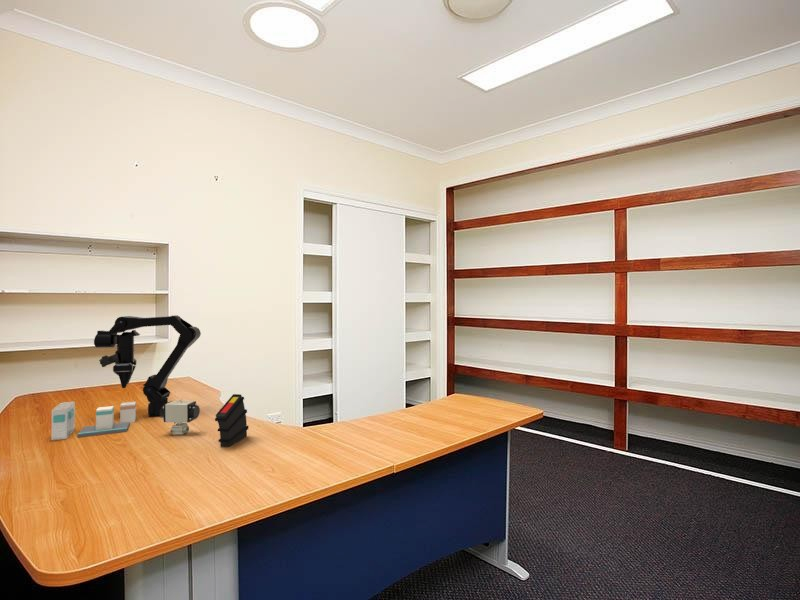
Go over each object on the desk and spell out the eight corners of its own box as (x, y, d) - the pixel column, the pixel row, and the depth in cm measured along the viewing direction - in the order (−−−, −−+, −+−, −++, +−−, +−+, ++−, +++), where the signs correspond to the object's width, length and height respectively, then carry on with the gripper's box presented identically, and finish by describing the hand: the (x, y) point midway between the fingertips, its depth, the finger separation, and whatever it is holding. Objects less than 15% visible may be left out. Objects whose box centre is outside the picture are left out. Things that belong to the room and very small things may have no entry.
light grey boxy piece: (135, 419, 165) (136, 401, 165) (134, 422, 161) (134, 403, 161) (121, 420, 163) (121, 402, 163) (120, 423, 159) (120, 405, 159)
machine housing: (76, 428, 152) (76, 401, 152) (67, 438, 141) (67, 409, 141) (60, 430, 150) (60, 402, 150) (51, 440, 139) (51, 410, 139)
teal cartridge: (113, 425, 154) (113, 405, 154) (111, 428, 149) (112, 408, 149) (98, 426, 151) (98, 407, 151) (95, 430, 147) (95, 410, 147)
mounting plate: (129, 424, 158) (129, 421, 158) (126, 431, 149) (126, 428, 149) (83, 429, 152) (83, 426, 152) (77, 437, 143) (77, 433, 143)
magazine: (253, 428, 147) (243, 393, 141) (233, 457, 136) (221, 420, 129) (243, 428, 148) (232, 393, 142) (222, 456, 136) (210, 420, 130)
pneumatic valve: (193, 436, 144) (193, 401, 144) (159, 435, 145) (159, 400, 145) (201, 431, 150) (201, 397, 150) (168, 431, 150) (168, 397, 150)
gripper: (105, 346, 175) (104, 383, 175) (97, 350, 158) (96, 392, 158) (136, 344, 180) (136, 381, 180) (132, 349, 163) (131, 389, 163)
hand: (125, 386), depth 170 cm, fingers open, 9 cm apart
